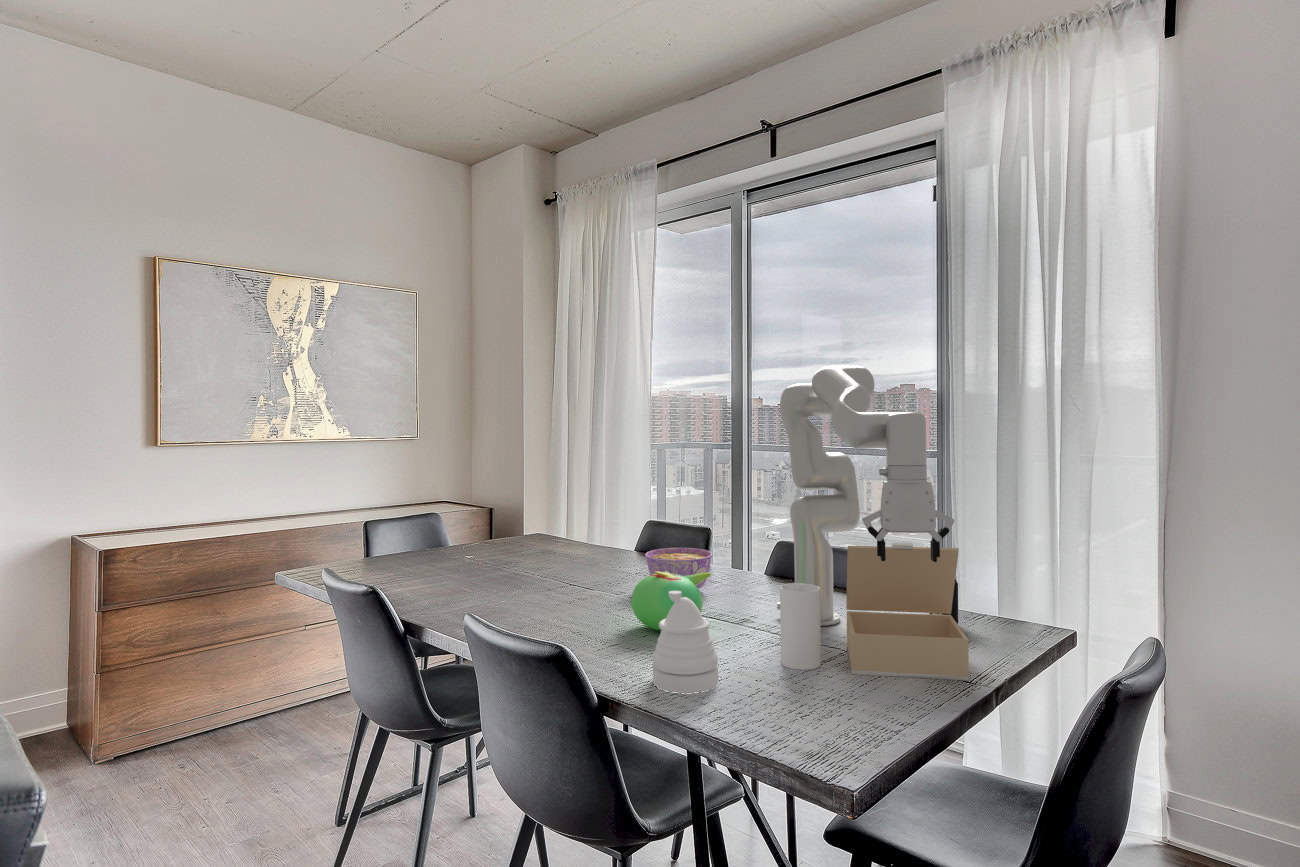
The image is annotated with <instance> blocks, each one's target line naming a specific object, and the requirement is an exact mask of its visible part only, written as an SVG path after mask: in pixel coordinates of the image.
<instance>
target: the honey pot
mask: <svg viewBox="0 0 1300 867" xmlns="http://www.w3.org/2000/svg"><path fill="white" fill-rule="evenodd" d="M681 595H682V592H681V591H669V597H670V599H671V600H672V601H673V602H675V603H674V605H673V606H672V608H671V609H670V611H669V613H668V615H667V617H666V619H663V620H661V621H660V622H659V628H660V629H661V631H660V634H659V637H658V638H657V644H656V645H655V651H654V652H653V654H652V684H653V683H654V684H655V685H656V686H658V687H659V688H661V689H664V690H667V691H672V692H680V693H694V692H701V691H706V690H709V689H712V688H714V687H715V686H716V685H717V684H718V685H719V666H718V665H719V657H718V653H717V652H716V650H715V646H714V644H713V638H712V636H711V635H710V633H709V628H710V626H711V624H710V621H708V620H707V619H705V618H704V617H703V615H702V612H701V613H700V611H699V609H698V608H697V606H696V605H695V604H694V603H693V601H691V600H690V599H688V598H687V597H682V598H681ZM718 685H717V686H718ZM715 688H716V687H715ZM715 688H714V689H715ZM712 690H713V689H712Z"/></svg>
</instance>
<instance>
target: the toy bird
mask: <svg viewBox="0 0 1300 867" xmlns="http://www.w3.org/2000/svg"><path fill="white" fill-rule="evenodd" d="M655 573H656V574H652V575H650V574H649V575H647V576H645V577H644V578H642V579H641V580H640V581H638V583H636V586H635V587H634V589H633V591H632V594H631V600H630V602H631V603H630V604H631V609H632V611H633V615H634V616H635V618H636V619H637V620H638V621H639V622H640V623H641V624H643V625H644V626H646V627H648V628H650V629H653V630H655V631H659V632H661V629H660V628H659V622H660V621H661V620H663V619H666V617H667V615H668V613H669V611H670V609H671V608H672V606H673V605H674V603H675V602H673V601H672V600H671V599H670V597H669V591H681V592H682V595H681V598H682V597H687V598H688V599H690V600H691V601H693V603H694V604H695V605H696V606H697V608H698V609H699V611H700V613H701V614H702V611H703V597H702V593H701V591H700V588H699V589H698V587H697V586H696V584H698V583H699V582H701V581H703V580H705V579H706V578H707V579H708V578H709V577H710V576H712V573H711V572H708V573H700V574H694V575H689V576H681V575H679V574H674V573H669V572H667V571H665V572H659V571H655Z"/></svg>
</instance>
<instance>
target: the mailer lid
mask: <svg viewBox="0 0 1300 867" xmlns="http://www.w3.org/2000/svg"><path fill="white" fill-rule="evenodd" d="M885 555H886V561H881V558H880V556H877V545H875V546H874V545H847V562H846V564H847V565H846V566H847V568H846V569H847V570H846V571H847V572H846V573H847V574H846V609H845V610H846V611H864V612H889V613H915V614H929V613H942V614H951V610H952V602H953V593H954V585H955V577H956V578H957V566H958V559H959V547H940V557H937V562H933V561H932V560H931V547H930V546H929V547H928V546H927V547H926V546H925V547H924V546H923V547H922V546H914V544H913V542H908V543H907V542H892V544H891V546H886V545H885Z"/></svg>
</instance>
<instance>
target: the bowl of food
mask: <svg viewBox="0 0 1300 867" xmlns="http://www.w3.org/2000/svg"><path fill="white" fill-rule="evenodd" d="M644 556H645V560H646V564H647V569H648V573H649V575H652V574H656V573H655V571H659V572H665V571H667V572H669V573H674V574H679V575H681V576H689V575H694V574H700V573H710V572H709V571H710V567H711V563H712V557H713V553H712V552H711V551H709V550H707V549H703V548H702V549H701V548H694V547H667V548H658V549H653V550H652V549H651V550H649V551H647V552H645V553H644ZM707 580H708V578H706V579H705V580H703V581H701V582H699V583H698V584H696V586H697V587H698V589H699V590H700V589H701V588H702V587H703V586H705V584H706V581H707Z"/></svg>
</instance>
